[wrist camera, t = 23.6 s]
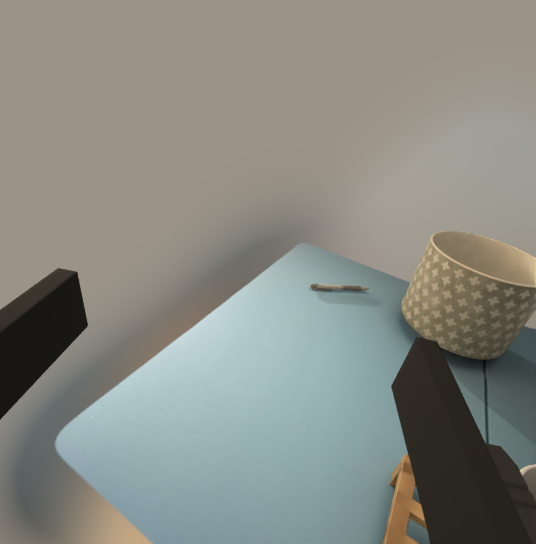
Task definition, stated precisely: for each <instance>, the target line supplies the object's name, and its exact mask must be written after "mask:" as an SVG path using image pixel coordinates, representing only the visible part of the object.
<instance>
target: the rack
mask: <svg viewBox="0 0 536 544" xmlns="http://www.w3.org/2000/svg"><path fill="white" fill-rule="evenodd" d="M390 484H391V485H392V486H394V487H395V492H394V496H393V500H392V505H391V509H390V513H389V517H388V522H387V526H386V530H385V534H384V539H383V543H382V544H419V543H417V542H416V541H414V540H413V539H411V538H410V537H408V536H407V535H406V532H407V527H408V521H409V518H410V519H412V520H413V521H415V522H416V523H418V524H419V525H421V526H422V527H424V528H426V529H427V527H426V523H425V519H424V515H423V511H422V507H421V504H419V503H418V502H416V501H415V500H413V494H414V488H415V486H416V483H415V479H414V475H413V471H412V467H411V463H410V459H409V456H408V455H406V454H405V455H404V457H403V458H402V460H401V461H400V463H399V464H398V466H397V467H396V469H395V470H394V472H393V474H392V478H391V482H390Z"/></svg>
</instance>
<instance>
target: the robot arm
mask: <svg viewBox="0 0 536 544" xmlns="http://www.w3.org/2000/svg"><path fill="white" fill-rule="evenodd" d="M87 326H88V323H87V318H86V313H85V308H84V303H83V298H82V293H81V289H80V283H79V279H78V273H77V272H75V271H70V270H65V269H60V268H58V269H56V270H55V271H54V272H52V273H51V274H50V275H48V276H47V277H45V278H44V279H42V280H41V281H40V282H38V283H37V284H35V285H34V286H33V287H31V288H30V289H29V290H27V291H26V292H25V293H23V294H22V295H20V296H19V297H17V298H16V299H15V300H13V301H12V302H11V303H9V304H8V305H6V306H5V307H4V308H2V309H1V310H0V419H1V418H2V417H3V416H4V415H5V414H6V413H7V412H8V411H9V410H10V409H11V408H12V406H13V405H14V404H15V403H16V402H17V401H18V400H19V399H20V398H21V397H22V396H23V395H24V394H25V392H26V391H27V390H28V389H29V388H30V387H31V386H32V385H33V384H34V383H35V382H36V381H37V380H38V379H39V378H40V376H41V375H42V374H43V373H44V372H45V371H46V370H47V369H48V368H49V367H50V366H51V365H52V364H53V363H54V362H55V361H56V359H57V358H58V357H59V356H60V355H61V354H62V353H63V352H64V351H65V350H66V349H67V348H68V347H69V346H70V344H71V343H72V342H73V341H74V340H75V339H76V338H77V337H78V336H79V335H80V334H81V332H83V331H84V330H85V328H86V327H87ZM391 387H392V391H393V395H394V399H395V403H396V407H397V411H398V415H399V419H400V423H401V427H402V431H403V435H404V439H405V443H406V447H407V451H408V455H409V459H410V463H411V467H412V471H413V475H414V479H415V483H416V487H417V491H418V495H419V499H420V503H421V507H422V511H423V515H424V519H425V523H426V527H427V531H428V535H429V539H430V543H431V544H536V501H535V499H534V497H533V495H532V493H531V492H529V490H528V488H529V487H528V485H527V483H526V482H525V480H524V478H523V476H522V474H521V472H520V470H519V468H518V466H517V465H516V464H515V463H514V462H513V460H512V459H511V458H510V457H509V456H508V455H507V453H506V452H505V451H504V450H503V449H502V448H501V447H500V446H495V445H490V444H485V442H484V440H483V438H482V435H481V433H480V431H479V429H478V427H477V425H476V423H475V421H474V418H473V416H472V414H471V412H470V410H469V408H468V406H467V404H466V401H465V399H464V397H463V395H462V393H461V391H460V389H459V387H458V384H457V382H456V380H455V378H454V376H453V374H452V372H451V370H450V367H449V365H448V363H447V361H446V359H445V357H444V355H443V353H442V350H441V348H440V346H439V344H438V342H437V341H433V340H428V339H423V338H418V337H416V339H415V341H414V343H413V345H412V347H411V349H410V351H409V353H408V355H407V357H406V359H405V361H404V362H403V364H402V366H401V368H400V370H399V372H398V374H397V376H396V378H395V380H394V382H393V384H392V386H391Z"/></svg>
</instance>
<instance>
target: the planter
mask: <svg viewBox="0 0 536 544" xmlns="http://www.w3.org/2000/svg"><path fill="white" fill-rule="evenodd" d="M401 310H402V313H403V316H404V318H405V319H406V321H407V322H408V323H409V324H410V326H411V327H412V328H413V329H414V330H415V331H416V332H418V333H419V334H420V335H421V336H423V337H424V338H425V339H428V340H433V341H437V342H438V344H439V346H440V347H441V348H443V349H445V350H447V351H449V352H452V353H455V354H457V355H461V356H464V357H468V358H473V359H483V360H487V359H494V358H497V357H499V356H501V355H502V354H503V353H504V352H505V351H506V350H507V348H508V347H509V345H510V344H511V343H512V341H513V340H514V339H515V337H516V336H517V335H518V333H519V332H520V330H521V329H522V328H523V326H524V325H525V324H526V322H527V321H528V320H529V318H530V317H531V315H532V314H533V313H534V311H535V310H536V258H535V257H533V256H531V255H529V254H527V253H526V252H524V251H522V250H519V249H517V248H515V247H513V246H510V245H508V244H505V243H503V242H500V241H497V240H494V239H491V238H487V237H484V236H480V235H476V234H472V233H466V232H460V231H440V232H437V233H435V234H433V235H432V236H431V238H430V241H429V243H428V245H427V247H426V250H425V252H424V254H423V256H422V259H421V261H420V263H419V265H418V268H417V270H416V272H415V274H414V276H413V279H412V281H411V283H410V285H409V288H408V290H407V292H406V294H405V296H404V299H403V301H402V304H401Z"/></svg>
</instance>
